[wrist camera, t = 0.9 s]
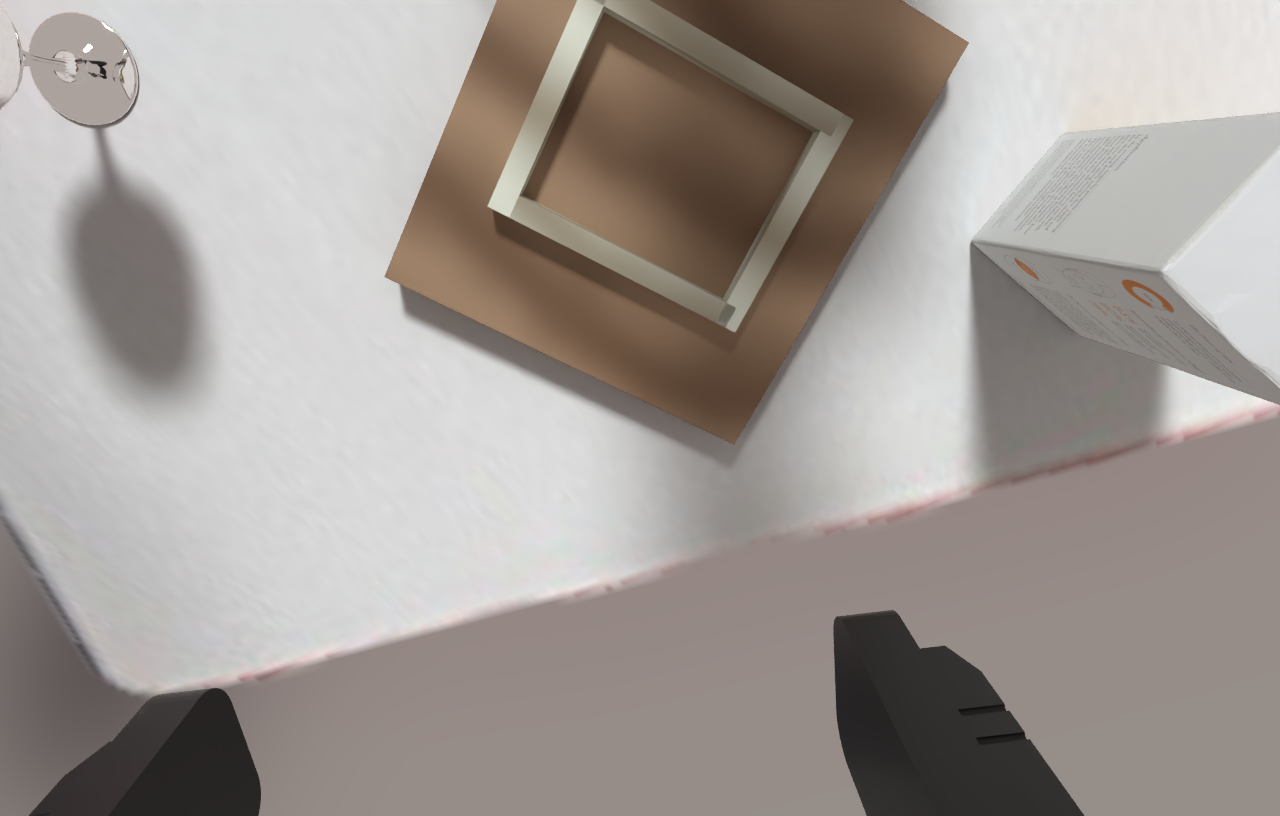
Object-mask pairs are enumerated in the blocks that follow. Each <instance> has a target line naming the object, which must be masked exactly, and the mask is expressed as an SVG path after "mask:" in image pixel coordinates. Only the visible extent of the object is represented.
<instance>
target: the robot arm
mask: <svg viewBox="0 0 1280 816" xmlns="http://www.w3.org/2000/svg"><path fill="white" fill-rule="evenodd" d="M834 657H835V658H834V659H835V685H836V710H837V722H838V729H839V734H840V740H841V744H842V748H843V752H844V756H845V759H846V762H847V765H848V768H849V770H850V773H851V776H852V778H853V781H854V783H855V786H856V789H857V791H858V794H859V796H860V798H861V802H862V804H863V807H864V809H865V812H866V815H867V816H1084V814H1083V813H1082V812H1081V811H1080V809H1079V808H1078V806H1077V805H1076V803H1075V802H1074V801H1073V799H1072V798H1071V796H1070V795H1069V794H1068V792H1067V791H1066V789H1065V788H1064V787H1063V785H1062V784H1061V782H1060V781H1059V780H1058V778H1057V777H1056V775H1055V774H1054V773H1053V771H1052V770H1051V768H1050V767H1049V766H1048V764H1047V763H1046V762H1045V760H1044V759H1043V757H1042V756H1041V755H1040V753H1039V752H1038V750H1037V749H1036V748H1035V746H1034V745H1033V743H1032V742H1031V740H1030V739H1029V740H1027V739H1026V737H1025V732H1024V731H1023V729H1022V728H1021V727H1020V725H1019V724H1018V722H1017V721H1016V720H1015V718H1014V717H1013V715H1012V714H1011V712H1010V711H1006V709H1005V705H1004V703H1003V701H1002V700H1001V699H1000V697H999V696H998V694H997V693H996V692H995V690H994V689H993V687H992V686H991V684H990V683H989V682H988V680H987V679H986V678H985V676H984V675H983V673H982V672H981V671H980V670H979V669H977V668H976V667H974V666H973V665H971V664H970V663H969V662H967V661H966V660H964V659H963V658H961V657H960V656H959V655H957V654H956V653H954V652H953V651H952V650H950V649H948V648H947V647H946V646H939V647H930V648H922V649H920V648H919V647H918V645H917V644H916V642H915V640H914V639H913V637H912V635H911V634H910V632H909V630H908V629H907V627H906V626H905V624H904V622H903V621H902V619H901V618H900V616H899V615H898V614H897V613H896V612H895V611H894V610H889V611H882V612H872V613H864V614H855V615H847V616H838V617H836V618H835V620H834ZM260 802H261V788H260V781H259V777H258V774H257V771H256V768H255V765H254V763H253V760H252V757H251V754H250V751H249V749H248V746H247V743H246V740H245V738H244V735H243V732H242V729H241V727H240V724H239V721H238V718H237V716H236V713H235V710H234V707H233V705H232V702H231V700H230V698H229V696H228V695H227V693H226V692H224V691H223V690H221V689H219V688H212V689H203V690H195V691H186V692H178V693H169V694H161V695H157V696H154V697H152V698H151V699H149V700H148V701H147V702H146V703H145V704H144V705H143V706H142V707H141V709H140V710H139V711H138V712H137V713H136V714H135V716H134V717H133V718H132V719H131V720H130V721H129V723H128V724H127V725H126V726H125V727H124V728H123V729H122V731H121V732H120V733H119V734H118V735H117V736H116V738H115V739H114V740H113V741H112V742H108V743H107V744H106V745H105V746H103V747H102V748H101V749H99V750H98V751H97V752H95V753H94V754H93V755H91V756H90V757H89V758H87V759H86V760H85V761H83V762H82V763H81V764H79V765H78V766H77V767H76V768H74V769H73V770H72V771H70V772H69V773H68V774H66V775H65V776H64V777H63V778H62V779H61V780H60V781H59V782H58V783H57V785H56V786H55V787H54V788H53V789H52V790H51V791H50V792H49V794H48V795H47V796H46V797H45V798H44V799H43V800H42V801H41V802H40V804H39V805H38V806H37V807H36V808H35V809H34V810H33V812H32V813H31V814H30V815H29V816H258V815H259V809H260Z"/></svg>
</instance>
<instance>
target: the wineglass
mask: <svg viewBox="0 0 1280 816" xmlns="http://www.w3.org/2000/svg"><path fill="white" fill-rule="evenodd" d="M23 66H29V68H30V72H31V75H32V78H33V81H34V83H35V85H36V87H37V89H38V90H39V92H40V93H41V95H42V96H43V98H44V99H45V100H46V101H47V102H48V103H49V104H50V105H51V106H52V107H53V108H54V109H55V110H56V111H58V112H59V113H61V114H62V115H64V116H65V117H67V118H69V119H71V120H73V121H76V122H78V123H83V124H87V125H104V124H109V123H112V122H114V121H116V120H118V119H120V118H121V117H122V116H124V115H125V114H126V113H127V112H128V111H129V109H130V108H131V106H132V104H133V103H134V100H135V98H136V95H137V89H138V73H137V68H136V64H135V61H134V58H133V56H132V54H131V52H130V50H129V48H128V47H127V45H126V43H125V42H124V41H123V39H122V38H121V37H120V36H119V35H118V34H117V33H116V32H115V30H113V29H112V28H111V27H109V26H108V25H107V24H105V23H104V22H103V21H101V20H99V19H97V18H95V17H92V16H90V15H87V14H82V13H78V12H64V13H59V14H56V15H53V16H51V17H49V18H47V19H46V20H44V21H43V22H42V23H41V24H40V25H39V26H38V27H37V28H36V30H35V32H34V33H33V35H32V38H31V40H30V44H29V50H28V52H26V51H23V50H22V47H21V43H20V40H19V36H18V33H17V31H16V28H15V26H14V24H13V22H12V20H11V19H10V17H9V15H8V14H7V12H6V11H5V9H4V7H3V6H2V4H1V3H0V113H1V112H2V111H3V110H4V109H5V108H6V107H7V106H8V105H9V104H10V102H11V101H12V100H13V98H14V96H15V95H16V93H17V91H18V89H19V86H20V83H21V80H22V73H23Z"/></svg>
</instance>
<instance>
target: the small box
mask: <svg viewBox="0 0 1280 816" xmlns="http://www.w3.org/2000/svg"><path fill="white" fill-rule="evenodd" d="M972 243H973V244H974V245H975V246H976V247H977V248H978V249H980V250H981V251H982V252H983V253H984V254H985V255H986V256H988V257H989V258H990V259H991V260H992V261H993V262H994V263H995V264H997V265H998V266H999V267H1000V268H1001V269H1002V270H1003V271H1005V272H1006V273H1007V274H1008V275H1009V276H1010V277H1011V278H1013V279H1014V280H1015V281H1016V282H1017V283H1018V284H1019V285H1021V286H1022V287H1023V288H1024V289H1025V290H1027V291H1028V292H1029V293H1030V294H1031V295H1032V296H1034V297H1035V298H1036V299H1037V300H1038V301H1039V302H1041V303H1042V304H1043V305H1044V306H1045V307H1046V308H1047V309H1049V310H1050V311H1051V312H1052V313H1053V314H1054V315H1056V316H1057V317H1058V318H1059V319H1060V320H1062V321H1063V322H1064V323H1065V324H1066V325H1067V326H1069V327H1070V328H1071V329H1072V330H1074V331H1075V332H1076V333H1077V334H1078V335H1080V336H1082V337H1085V338H1088V339H1092V340H1094V341H1097V342H1100V343H1103V344H1106V345H1109V346H1111V347H1115V348H1118V349H1121V350H1124V351H1127V352H1130V353H1133V354H1136V355H1139V356H1142V357H1145V358H1148V359H1151V360H1153V361H1156V362H1159V363H1162V364H1165V365H1168V366H1170V367H1173V368H1176V369H1179V370H1181V371H1184V372H1187V373H1190V374H1192V375H1195V376H1198V377H1201V378H1204V379H1207V380H1210V381H1212V382H1215V383H1218V384H1221V385H1224V386H1227V387H1230V388H1233V389H1236V390H1239V391H1241V392H1244V393H1247V394H1250V395H1253V396H1256V397H1259V398H1262V399H1264V400H1267V401H1270V402H1273V403H1276V404H1279V405H1280V112H1277V113H1267V114H1256V115H1245V116H1234V117H1226V118H1215V119H1204V120H1193V121H1184V122H1173V123H1162V124H1153V125H1141V126H1132V127H1120V128H1110V129H1102V130H1089V131H1080V132H1069V133H1064V134H1063V135H1062V136H1060V137H1059V138H1058V139H1057V141H1056V142H1055V143H1054V144H1053V145H1052V146H1051V148H1050V149H1049V150H1048V151H1047V152H1046V154H1045V155H1044V156H1043V157H1042V158H1041V160H1040V161H1039V162H1038V163H1037V164H1036V165H1035V166H1034V168H1033V169H1032V170H1031V171H1030V172H1029V173H1028V175H1027V176H1026V177H1025V178H1024V179H1023V181H1022V182H1021V183H1020V184H1019V185H1018V186H1017V188H1016V189H1015V190H1014V191H1013V192H1012V193H1011V194H1010V196H1009V197H1008V198H1007V199H1006V200H1005V201H1004V202H1003V204H1002V205H1001V206H1000V207H999V208H998V210H997V211H996V212H995V213H994V214H993V215H992V217H991V218H990V219H989V220H988V221H987V223H986V224H985V225H984V226H983V227H982V229H981V230H980V231H979V232H978V233H977V234H976V235H975V237H974V238H973V239H972Z"/></svg>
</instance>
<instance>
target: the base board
mask: <svg viewBox="0 0 1280 816" xmlns="http://www.w3.org/2000/svg"><path fill="white" fill-rule="evenodd" d="M968 44H969V42H967V41H965V40H964V39H962V38H961V37H959V36H957V35H956V34H954V33H953V32H951V31H949V30H948V29H946V28H945V27H943V26H941V25H940V24H938V23H937V22H935V21H933V20H932V19H930V18H929V17H927V16H925V15H924V14H922V13H921V12H919V11H917V10H916V9H914V8H913V7H911V6H909V5H908V4H906V3H905V2H903V1H902V0H497V2H496V4H495V7H494V9H493V12H492V14H491V16H490V19H489V21H488V24H487V26H486V29H485V31H484V34H483V36H482V39H481V41H480V43H479V46H478V48H477V51H476V53H475V56H474V58H473V61H472V63H471V66H470V68H469V70H468V73H467V75H466V78H465V80H464V83H463V85H462V88H461V90H460V93H459V95H458V97H457V100H456V102H455V105H454V107H453V110H452V112H451V115H450V117H449V120H448V122H447V125H446V127H445V129H444V132H443V134H442V137H441V139H440V142H439V144H438V147H437V149H436V152H435V154H434V156H433V159H432V161H431V164H430V166H429V169H428V171H427V174H426V176H425V179H424V181H423V183H422V186H421V188H420V191H419V193H418V196H417V198H416V201H415V203H414V206H413V208H412V210H411V213H410V215H409V218H408V220H407V223H406V225H405V228H404V230H403V233H402V235H401V237H400V240H399V242H398V245H397V247H396V250H395V252H394V255H393V257H392V260H391V262H390V265H389V267H388V269H387V272H386V274H385V277H386V278H388V279H390V280H392V281H394V282H396V283H398V284H400V285H402V286H405V287H407V288H409V289H411V290H413V291H415V292H417V293H419V294H421V295H423V296H425V297H428V298H430V299H432V300H434V301H436V302H438V303H440V304H442V305H444V306H446V307H448V308H450V309H453V310H455V311H457V312H459V313H461V314H463V315H465V316H467V317H469V318H471V319H473V320H476V321H478V322H480V323H482V324H484V325H486V326H488V327H490V328H492V329H494V330H496V331H498V332H501V333H503V334H505V335H507V336H509V337H511V338H513V339H515V340H517V341H519V342H521V343H524V344H526V345H528V346H530V347H532V348H534V349H536V350H538V351H540V352H542V353H544V354H546V355H549V356H551V357H553V358H555V359H557V360H559V361H561V362H563V363H565V364H567V365H569V366H571V367H574V368H576V369H578V370H580V371H582V372H584V373H586V374H588V375H590V376H592V377H594V378H597V379H599V380H601V381H603V382H605V383H607V384H609V385H611V386H613V387H615V388H617V389H619V390H622V391H624V392H626V393H628V394H630V395H632V396H634V397H636V398H638V399H640V400H642V401H645V402H647V403H649V404H651V405H653V406H655V407H657V408H659V409H661V410H663V411H665V412H667V413H670V414H672V415H674V416H676V417H678V418H680V419H682V420H684V421H686V422H688V423H690V424H693V425H695V426H697V427H699V428H701V429H703V430H705V431H707V432H709V433H711V434H713V435H715V436H718V437H720V438H722V439H724V440H726V441H728V442H730V443H732V444H735V443H736V441H737V439H738V438H739V436H740V434H741V432H742V431H743V429H744V427H745V426H746V424H747V422H748V420H749V419H750V417H751V415H752V414H753V412H754V410H755V408H756V407H757V405H758V403H759V402H760V400H761V398H762V396H763V395H764V393H765V391H766V390H767V388H768V386H769V384H770V383H771V381H772V379H773V378H774V376H775V374H776V372H777V371H778V369H779V367H780V366H781V364H782V362H783V360H784V359H785V357H786V355H787V354H788V352H789V350H790V348H791V347H792V345H793V343H794V342H795V340H796V338H797V336H798V335H799V333H800V331H801V330H802V328H803V326H804V324H805V323H806V321H807V319H808V318H809V316H810V314H811V312H812V311H813V309H814V307H815V306H816V304H817V302H818V300H819V299H820V297H821V295H822V294H823V292H824V290H825V288H826V287H827V285H828V283H829V282H830V280H831V278H832V277H833V275H834V273H835V271H836V270H837V268H838V266H839V265H840V263H841V261H842V259H843V258H844V256H845V254H846V253H847V251H848V249H849V247H850V246H851V244H852V242H853V241H854V239H855V237H856V235H857V234H858V232H859V230H860V229H861V227H862V225H863V223H864V222H865V220H866V218H867V217H868V215H869V213H870V211H871V210H872V208H873V206H874V205H875V203H876V201H877V199H878V198H879V196H880V194H881V193H882V191H883V189H884V187H885V186H886V184H887V182H888V181H889V179H890V177H891V175H892V174H893V172H894V170H895V169H896V167H897V165H898V163H899V162H900V160H901V158H902V157H903V155H904V153H905V151H906V150H907V148H908V146H909V145H910V143H911V141H912V139H913V138H914V136H915V134H916V133H917V131H918V129H919V127H920V126H921V124H922V122H923V121H924V119H925V117H926V115H927V114H928V112H929V110H930V109H931V107H932V105H933V104H934V102H935V100H936V98H937V97H938V95H939V93H940V92H941V90H942V88H943V86H944V85H945V83H946V81H947V80H948V78H949V76H950V74H951V73H952V71H953V69H954V68H955V66H956V64H957V62H958V61H959V59H960V57H961V56H962V54H963V52H964V50H965V49H966V47H967V45H968Z"/></svg>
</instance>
